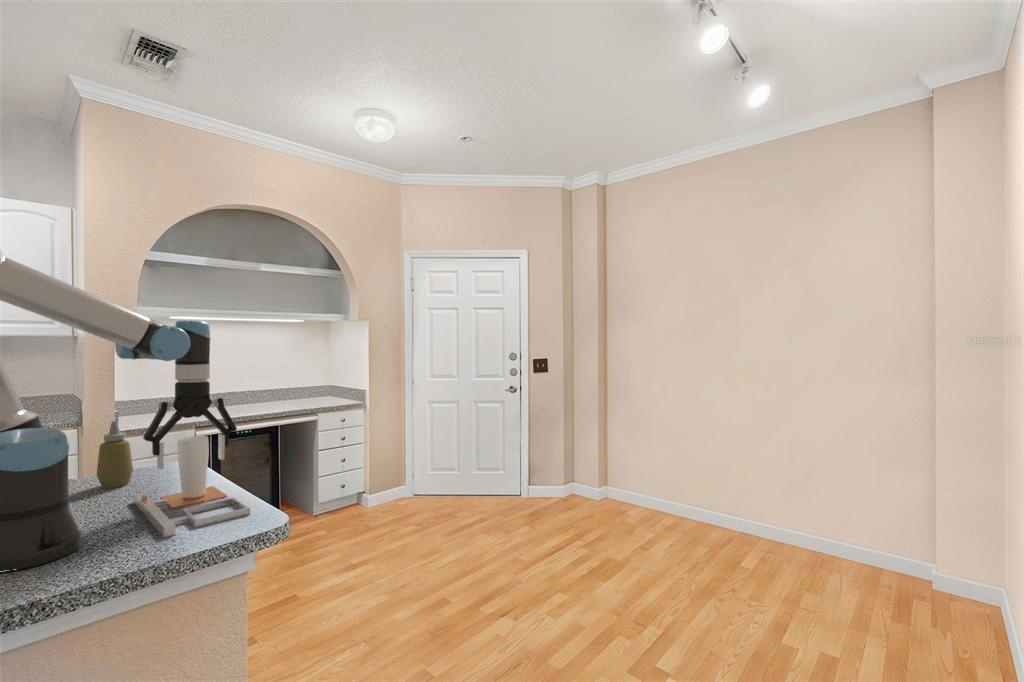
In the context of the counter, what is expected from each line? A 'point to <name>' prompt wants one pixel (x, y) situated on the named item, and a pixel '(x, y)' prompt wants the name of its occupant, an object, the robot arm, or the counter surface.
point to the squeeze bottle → (114, 459)
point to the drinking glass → (193, 465)
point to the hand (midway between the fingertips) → (192, 463)
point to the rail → (187, 509)
